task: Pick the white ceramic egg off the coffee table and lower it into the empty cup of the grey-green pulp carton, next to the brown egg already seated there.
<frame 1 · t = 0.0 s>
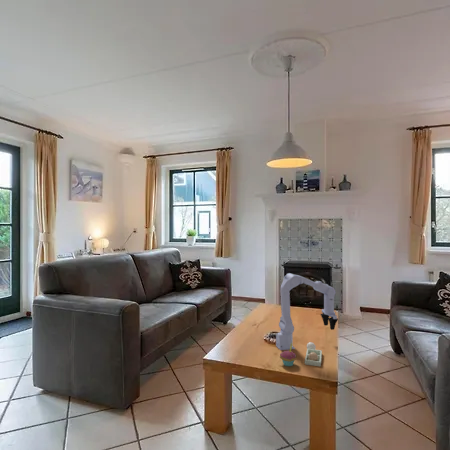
hand: (329, 327, 191), 10 cm above the table, fingers open, 7 cm apart
brown egg: (313, 361, 165), resting on carton
cupcake: (288, 365, 163), on the table
white egg: (311, 351, 181), on the table
carton: (313, 359, 169), on the table
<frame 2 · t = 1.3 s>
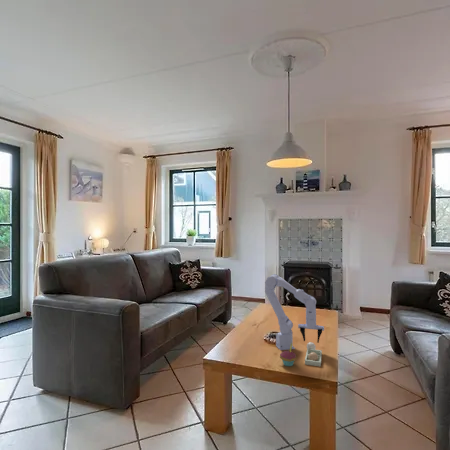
hand: (311, 341, 180), 6 cm above the table, fingers open, 7 cm apart
nothing on the table moved.
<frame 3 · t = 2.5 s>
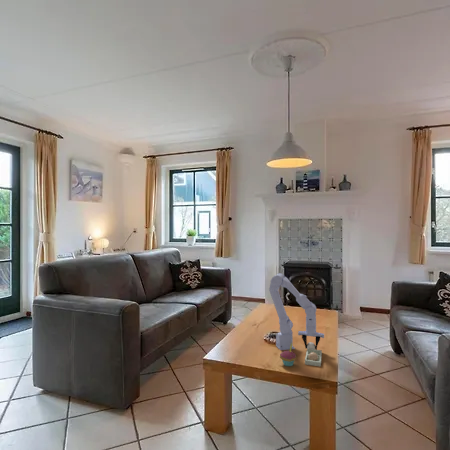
hand: (311, 348, 181), 1 cm above the table, fingers closed on white egg, 5 cm apart
white egg: (311, 351, 181), on the table, touching gripper
everything else where it was.
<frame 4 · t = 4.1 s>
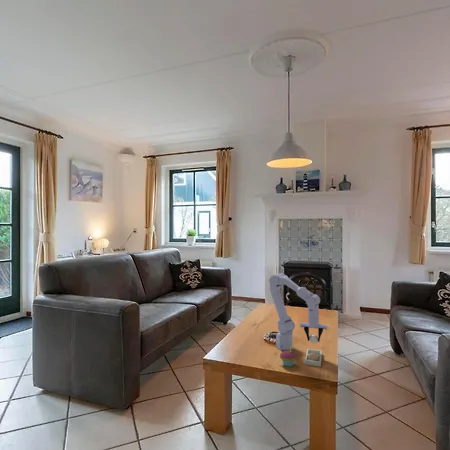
hand: (313, 340, 174), 8 cm above the table, fingers closed on white egg, 5 cm apart
white egg: (313, 343, 174), point 7 cm above the table, touching gripper
everything else where it was.
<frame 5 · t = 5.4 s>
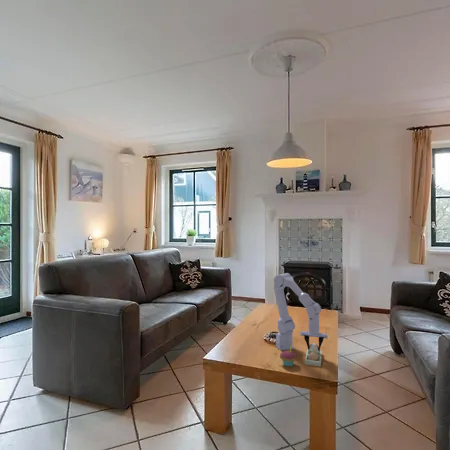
hand: (313, 349, 172), 4 cm above the table, fingers closed on white egg, 5 cm apart
white egg: (314, 352, 173), point 3 cm above the table, touching gripper
everything else where it was.
when the fingers open (4 cm above the table, at t = 5.9 s): white egg drops 2 cm, resting on carton.
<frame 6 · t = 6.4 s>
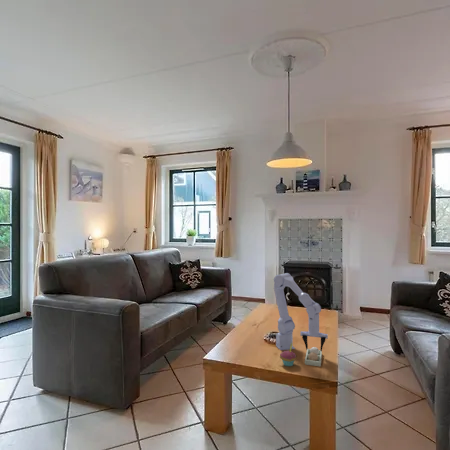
hand: (313, 349, 172), 4 cm above the table, fingers open, 7 cm apart
white egg: (313, 356, 173), resting on carton, tilted 9°
everything else where it was.
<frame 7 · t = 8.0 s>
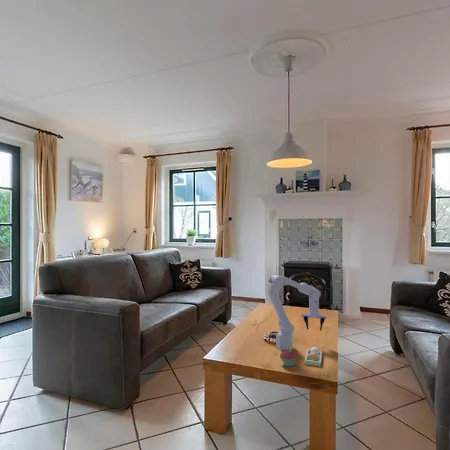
hand: (314, 329, 189), 9 cm above the table, fingers open, 7 cm apart
nothing on the table moved.
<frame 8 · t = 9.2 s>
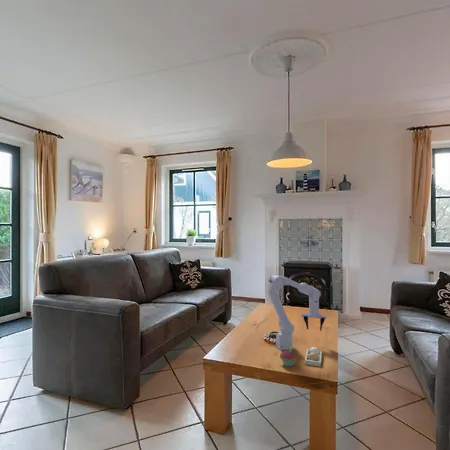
hand: (314, 329, 189), 9 cm above the table, fingers open, 7 cm apart
white egg: (313, 356, 173), resting on carton, tilted 5°
everything else where it was.
at the end: white egg 0.1 cm from the target spot on the carton, point 0.4 cm above the carton's base; the gripper is holding nothing; brown egg moved 0.0 cm from its start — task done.
